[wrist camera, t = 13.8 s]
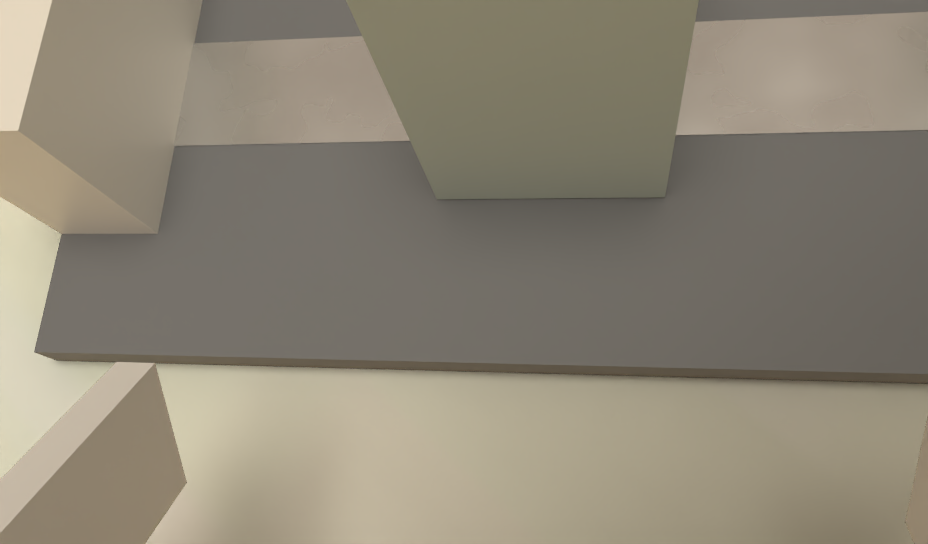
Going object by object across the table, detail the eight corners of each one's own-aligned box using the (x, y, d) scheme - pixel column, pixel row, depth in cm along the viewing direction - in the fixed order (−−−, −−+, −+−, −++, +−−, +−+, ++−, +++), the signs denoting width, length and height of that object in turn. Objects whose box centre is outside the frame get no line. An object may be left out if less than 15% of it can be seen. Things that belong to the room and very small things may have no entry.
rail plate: (1041, -152, 24) (1204, -418, 18) (1154, 389, 19) (1444, 299, 13) (157, -88, 29) (26, -280, 22) (57, 360, 24) (-151, 284, 17)
